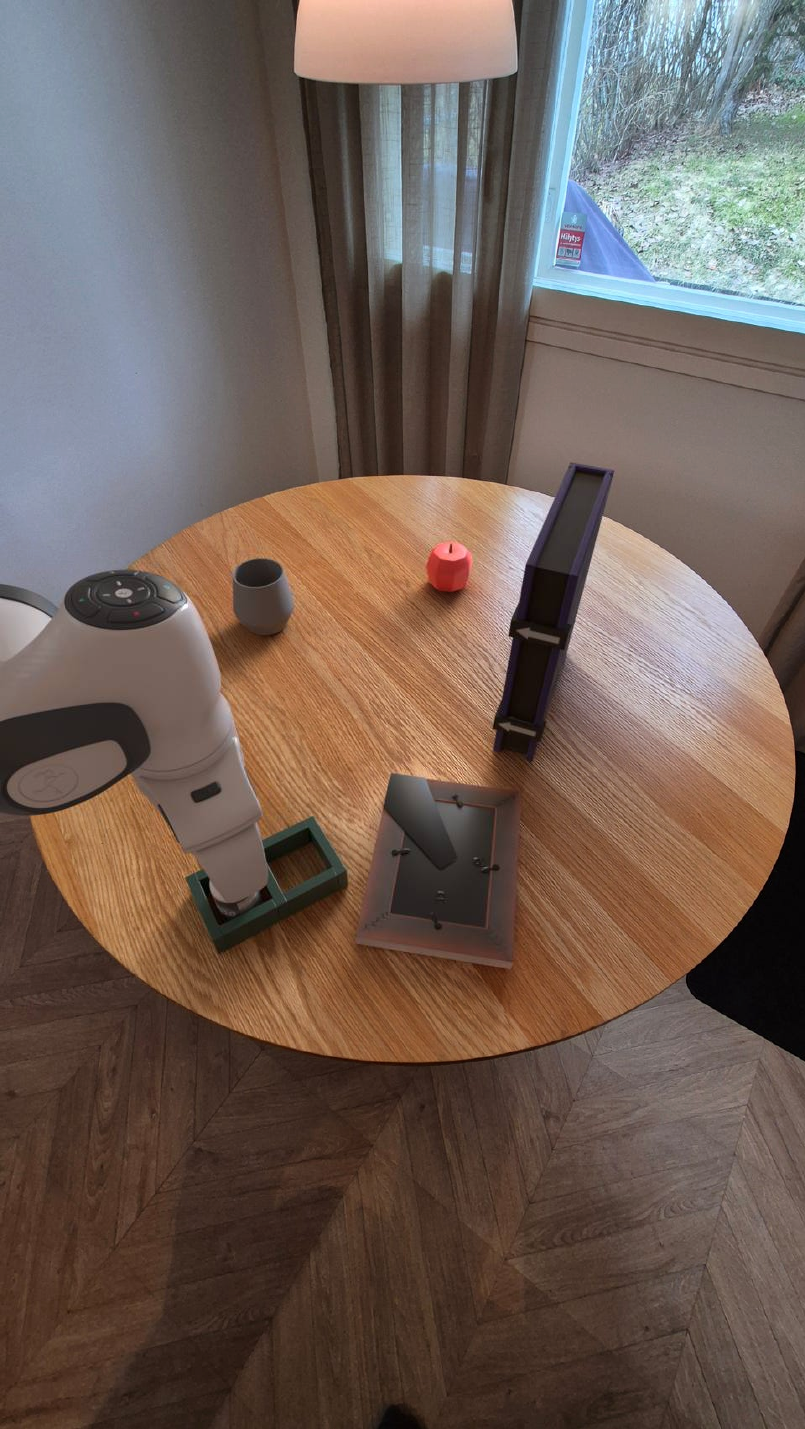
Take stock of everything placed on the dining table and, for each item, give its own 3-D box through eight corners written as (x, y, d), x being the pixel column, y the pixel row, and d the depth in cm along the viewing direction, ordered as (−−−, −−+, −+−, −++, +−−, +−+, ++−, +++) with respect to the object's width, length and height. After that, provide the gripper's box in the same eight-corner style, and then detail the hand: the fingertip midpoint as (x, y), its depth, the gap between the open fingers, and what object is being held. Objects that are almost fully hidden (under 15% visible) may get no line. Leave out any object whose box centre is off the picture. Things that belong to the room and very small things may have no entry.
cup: (287, 647, 103) (278, 595, 95) (229, 640, 103) (216, 588, 96) (303, 609, 109) (297, 557, 101) (249, 602, 110) (238, 551, 102)
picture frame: (390, 784, 85) (355, 945, 71) (390, 772, 83) (354, 935, 69) (519, 802, 83) (510, 970, 69) (522, 790, 82) (513, 961, 67)
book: (529, 643, 104) (566, 461, 81) (569, 653, 102) (618, 470, 80) (488, 752, 89) (520, 565, 67) (534, 766, 87) (582, 579, 65)
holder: (218, 954, 70) (211, 941, 67) (191, 892, 75) (184, 877, 72) (348, 885, 76) (347, 870, 73) (315, 831, 80) (313, 815, 78)
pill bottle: (211, 908, 73) (194, 871, 67) (244, 879, 76) (231, 841, 70) (239, 935, 71) (224, 900, 65) (272, 905, 74) (261, 867, 68)
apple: (466, 568, 117) (470, 529, 111) (475, 596, 112) (480, 556, 106) (421, 572, 116) (423, 532, 110) (429, 600, 111) (431, 559, 105)
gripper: (110, 685, 58) (153, 779, 69) (188, 862, 47) (226, 942, 57) (179, 660, 61) (211, 754, 71) (270, 822, 49) (292, 907, 59)
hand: (218, 839), depth 64 cm, fingers open, 8 cm apart
